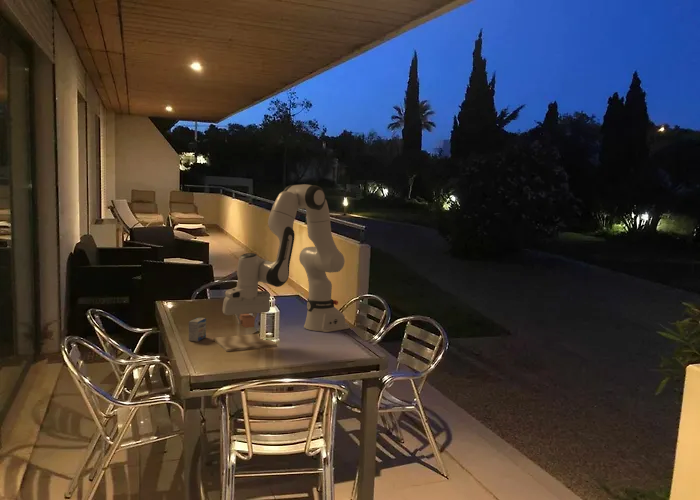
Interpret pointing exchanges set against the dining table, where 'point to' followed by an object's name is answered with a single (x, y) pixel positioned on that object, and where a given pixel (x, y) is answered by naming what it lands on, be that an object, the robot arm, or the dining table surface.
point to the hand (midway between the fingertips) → (246, 323)
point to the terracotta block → (247, 320)
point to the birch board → (243, 342)
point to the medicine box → (197, 329)
